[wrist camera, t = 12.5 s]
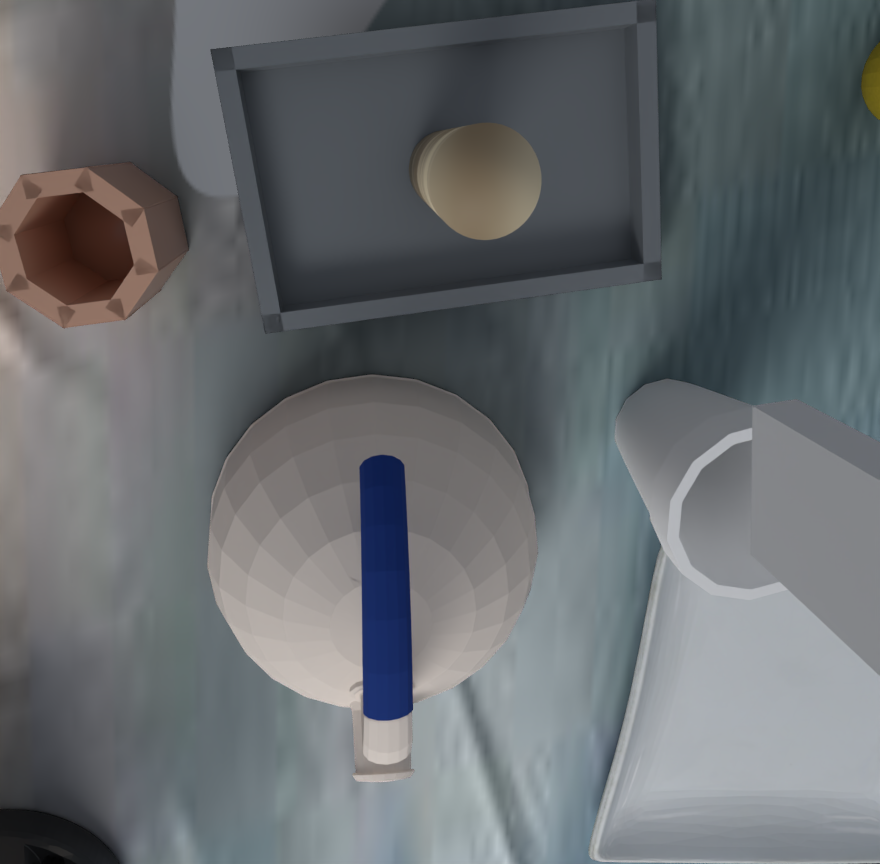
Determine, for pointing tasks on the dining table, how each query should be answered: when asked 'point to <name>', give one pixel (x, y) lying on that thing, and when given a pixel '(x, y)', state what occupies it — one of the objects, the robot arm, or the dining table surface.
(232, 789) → the dining table surface
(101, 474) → the dining table surface
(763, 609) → the square plate
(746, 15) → the dining table surface
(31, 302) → the pink octagonal cup
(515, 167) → the peg
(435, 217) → the tray
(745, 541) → the foam cup
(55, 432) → the dining table surface
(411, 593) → the kettle
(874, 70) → the lemon
